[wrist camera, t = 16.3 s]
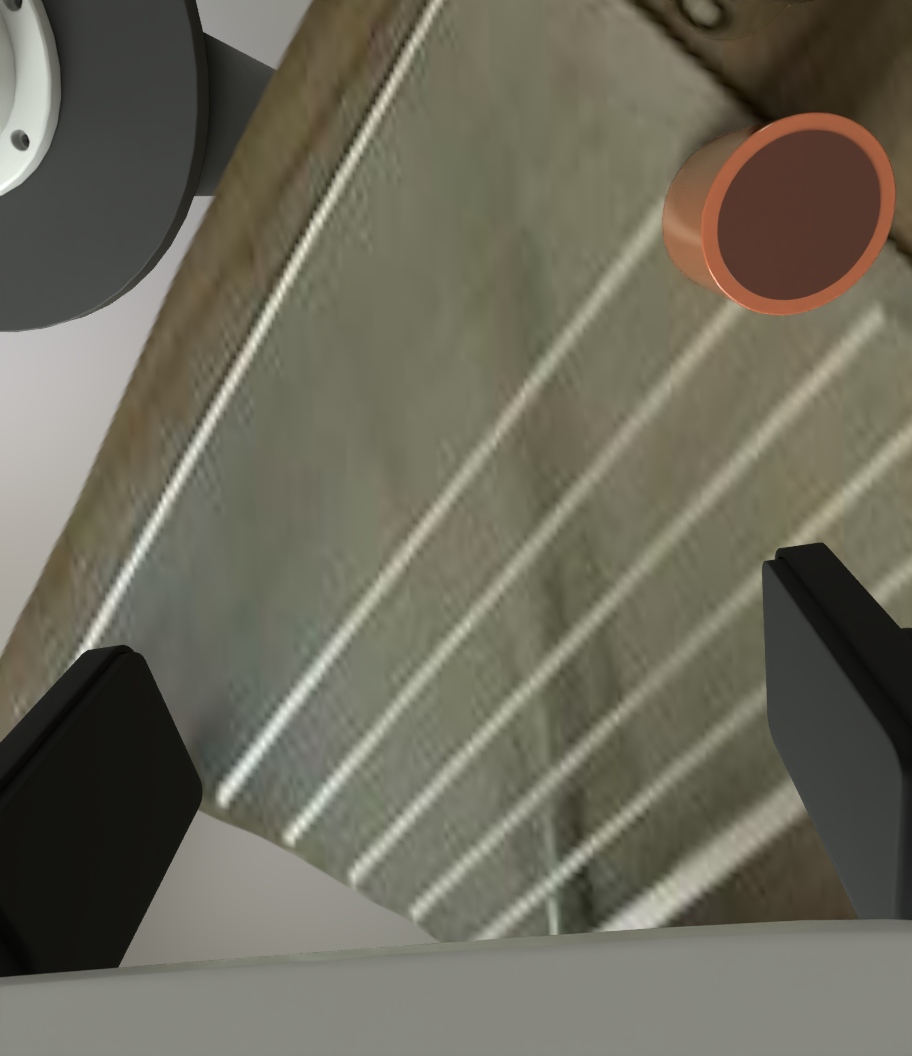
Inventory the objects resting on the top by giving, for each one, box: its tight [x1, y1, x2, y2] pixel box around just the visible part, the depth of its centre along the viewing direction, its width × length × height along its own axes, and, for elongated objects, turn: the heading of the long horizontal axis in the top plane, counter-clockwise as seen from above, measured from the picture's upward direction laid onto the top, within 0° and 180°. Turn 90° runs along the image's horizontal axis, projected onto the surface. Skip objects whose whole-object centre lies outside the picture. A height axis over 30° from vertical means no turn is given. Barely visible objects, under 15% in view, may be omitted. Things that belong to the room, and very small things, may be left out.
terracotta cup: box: [663, 112, 896, 315], centre depth 31 cm, size 7×7×8 cm
